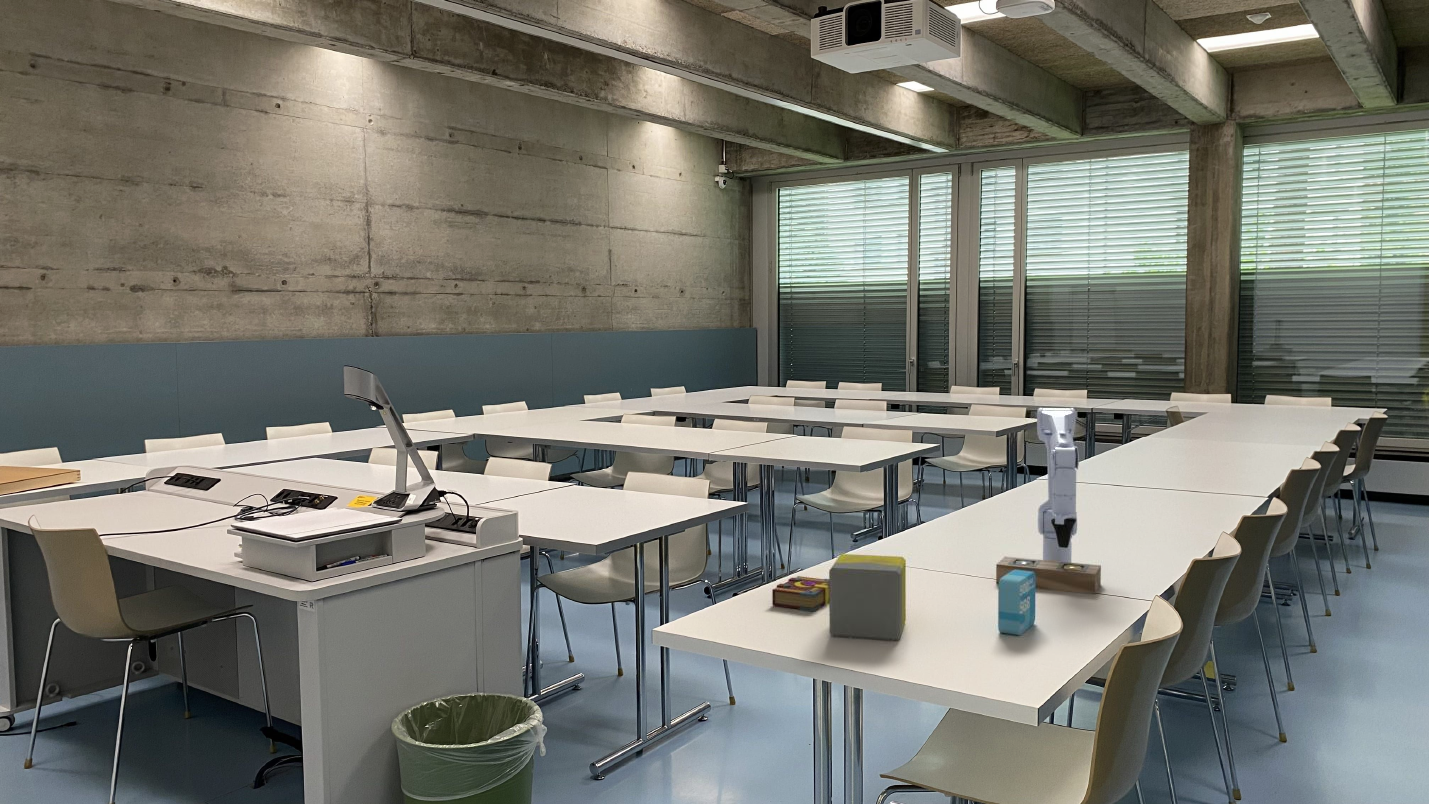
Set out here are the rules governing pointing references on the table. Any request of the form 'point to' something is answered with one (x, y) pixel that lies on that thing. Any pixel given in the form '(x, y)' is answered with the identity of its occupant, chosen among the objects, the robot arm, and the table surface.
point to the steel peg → (1024, 562)
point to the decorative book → (802, 593)
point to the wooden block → (1055, 574)
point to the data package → (1016, 602)
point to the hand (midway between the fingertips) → (1063, 547)
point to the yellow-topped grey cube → (867, 597)
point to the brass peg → (1073, 567)
